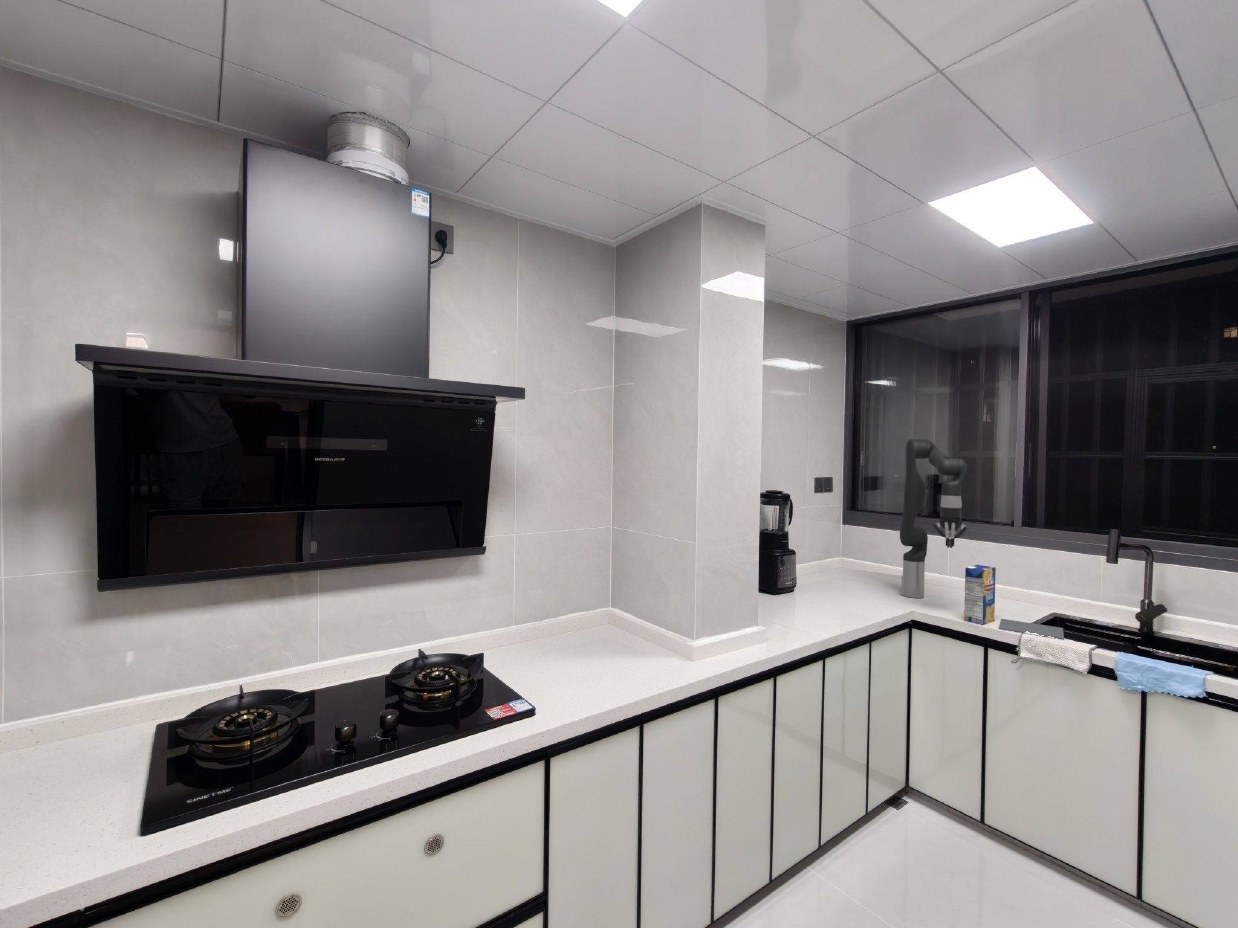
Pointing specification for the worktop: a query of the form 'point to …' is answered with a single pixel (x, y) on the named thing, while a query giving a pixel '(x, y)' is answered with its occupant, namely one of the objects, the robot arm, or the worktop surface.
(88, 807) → the worktop surface
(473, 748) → the worktop surface
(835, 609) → the worktop surface
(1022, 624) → the mat
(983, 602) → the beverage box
